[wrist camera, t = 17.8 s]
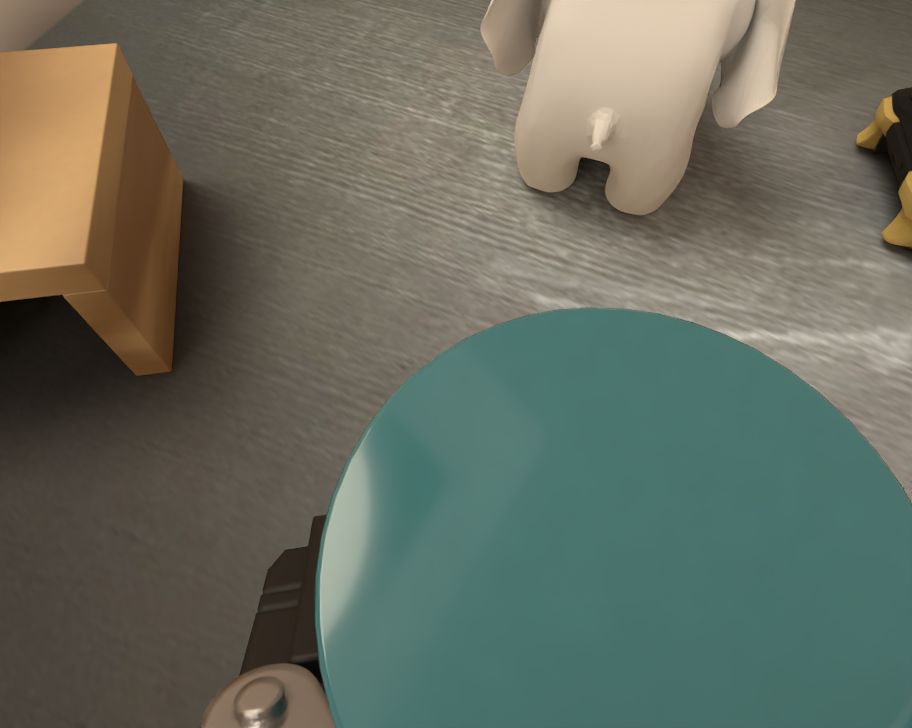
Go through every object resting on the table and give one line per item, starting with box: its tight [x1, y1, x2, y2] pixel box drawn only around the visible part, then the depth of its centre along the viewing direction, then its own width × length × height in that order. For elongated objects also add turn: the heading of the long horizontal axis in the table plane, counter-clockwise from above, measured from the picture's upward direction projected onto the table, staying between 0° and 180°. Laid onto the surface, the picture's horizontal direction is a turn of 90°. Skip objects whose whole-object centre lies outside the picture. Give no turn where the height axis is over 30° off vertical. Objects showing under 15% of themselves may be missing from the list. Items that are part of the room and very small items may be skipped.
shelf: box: [0, 43, 183, 376], centre depth 21 cm, size 9×9×6 cm
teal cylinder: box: [315, 307, 912, 728], centre depth 10 cm, size 6×6×9 cm
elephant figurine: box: [480, 0, 796, 215], centre depth 23 cm, size 10×12×9 cm
